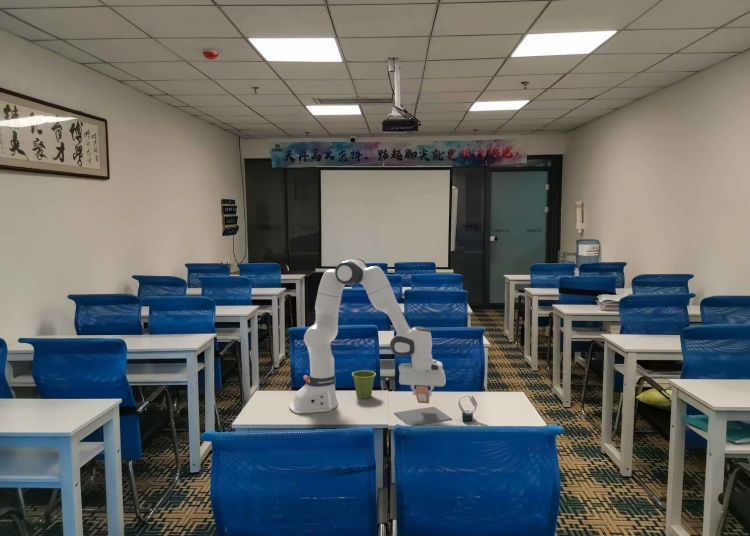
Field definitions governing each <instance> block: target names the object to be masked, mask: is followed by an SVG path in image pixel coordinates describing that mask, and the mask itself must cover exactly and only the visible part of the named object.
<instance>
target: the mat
mask: <svg viewBox="0 0 750 536" xmlns="http://www.w3.org/2000/svg"><path fill="white" fill-rule="evenodd" d="M393 415H395V416H396V417H397V418H399V419H400V420H401V421H402V420H403V421H404V422H405V423H404V424H406V423H407V424H408V425H417V426H420V425H421V426H422V425H428V424H432V423H440V422H445V421H452V418H451V417H450V415H447V414H446V413H444V412H443V411H441V410H440V409H438V408H437V407H436V406H430V407H429V406H428V407H422V408H417V409H411V410H410V409H409V410H403V411H397V412H396V411H395V412H393ZM403 421H402V422H403ZM407 424H406V425H407ZM408 425H407V426H408Z"/></svg>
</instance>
